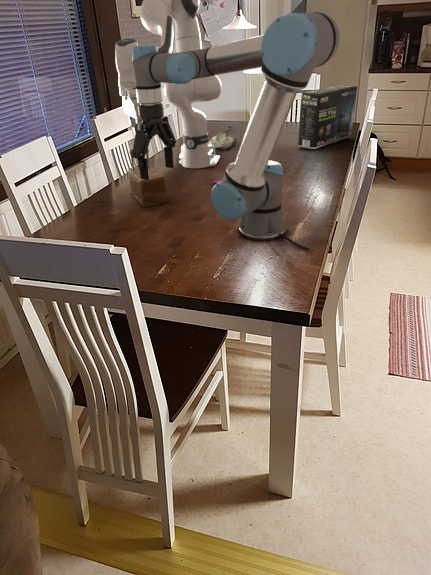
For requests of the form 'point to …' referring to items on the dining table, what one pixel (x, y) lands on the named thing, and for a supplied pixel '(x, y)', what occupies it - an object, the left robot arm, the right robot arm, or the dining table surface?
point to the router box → (326, 115)
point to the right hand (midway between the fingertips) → (157, 173)
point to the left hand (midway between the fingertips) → (136, 129)
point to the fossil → (223, 140)
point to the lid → (153, 172)
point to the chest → (148, 191)
